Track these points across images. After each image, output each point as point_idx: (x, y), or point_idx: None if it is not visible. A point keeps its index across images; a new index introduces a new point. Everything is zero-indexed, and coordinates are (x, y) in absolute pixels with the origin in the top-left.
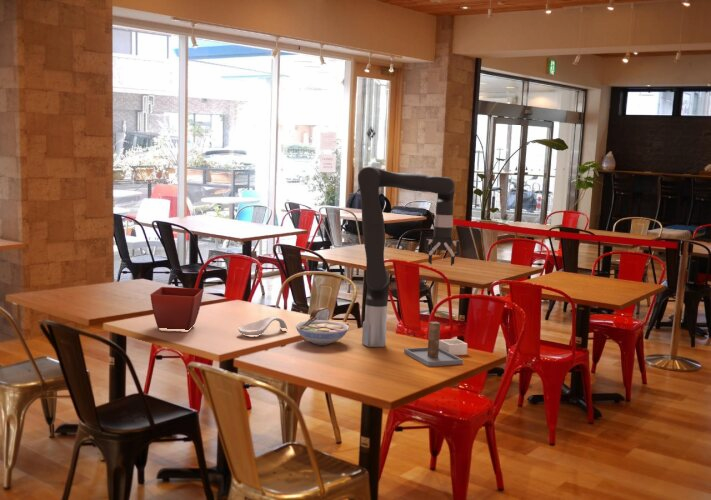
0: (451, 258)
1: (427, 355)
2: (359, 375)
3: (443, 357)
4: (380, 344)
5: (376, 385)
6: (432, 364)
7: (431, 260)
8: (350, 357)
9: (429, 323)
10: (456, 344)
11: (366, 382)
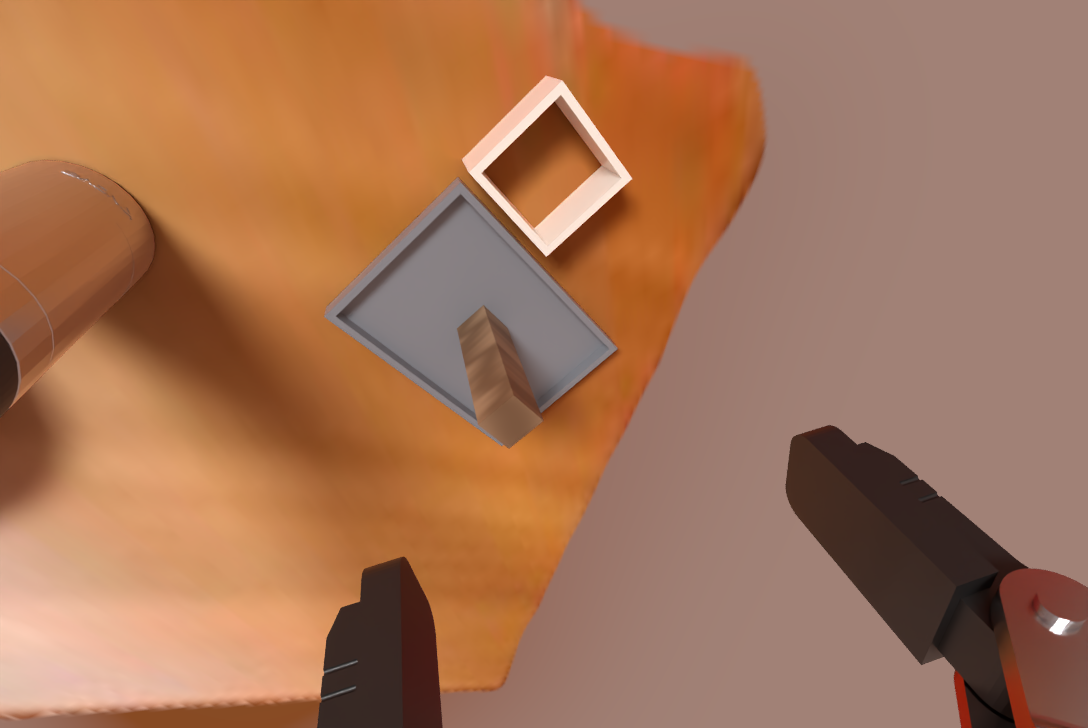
0: (896, 622)
1: (457, 330)
2: None
3: (527, 311)
4: (144, 272)
5: None
6: None
7: (434, 701)
8: (166, 492)
9: (478, 421)
10: (579, 225)
11: None
